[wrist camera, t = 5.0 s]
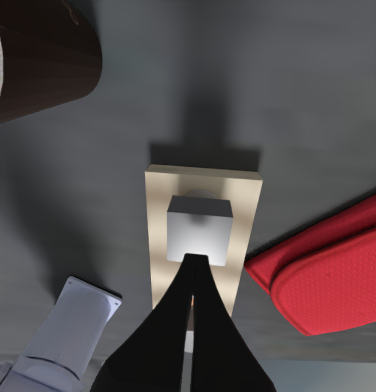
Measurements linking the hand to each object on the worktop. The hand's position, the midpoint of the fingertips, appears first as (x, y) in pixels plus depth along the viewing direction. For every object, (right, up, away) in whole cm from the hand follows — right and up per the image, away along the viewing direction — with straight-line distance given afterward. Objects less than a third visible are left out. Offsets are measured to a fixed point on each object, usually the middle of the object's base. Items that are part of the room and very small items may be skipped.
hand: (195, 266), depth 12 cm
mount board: (+1, -3, +12) cm, 12 cm away
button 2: (0, +2, +4) cm, 5 cm away
